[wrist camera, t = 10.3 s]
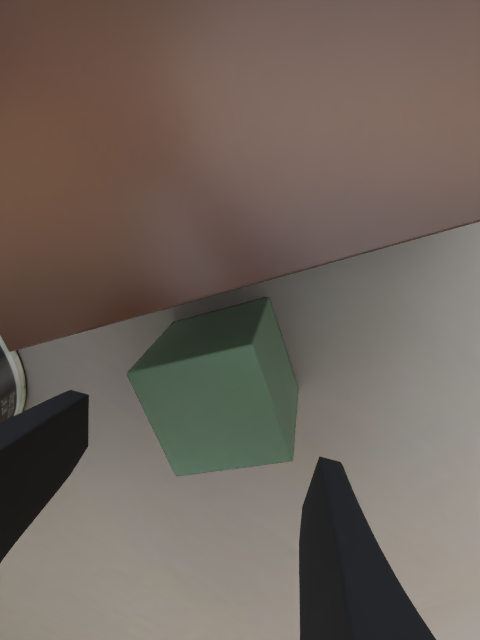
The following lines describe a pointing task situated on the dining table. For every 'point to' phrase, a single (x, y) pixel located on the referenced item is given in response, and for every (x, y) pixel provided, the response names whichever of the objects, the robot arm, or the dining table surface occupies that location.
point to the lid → (221, 146)
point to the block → (220, 390)
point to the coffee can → (11, 383)
